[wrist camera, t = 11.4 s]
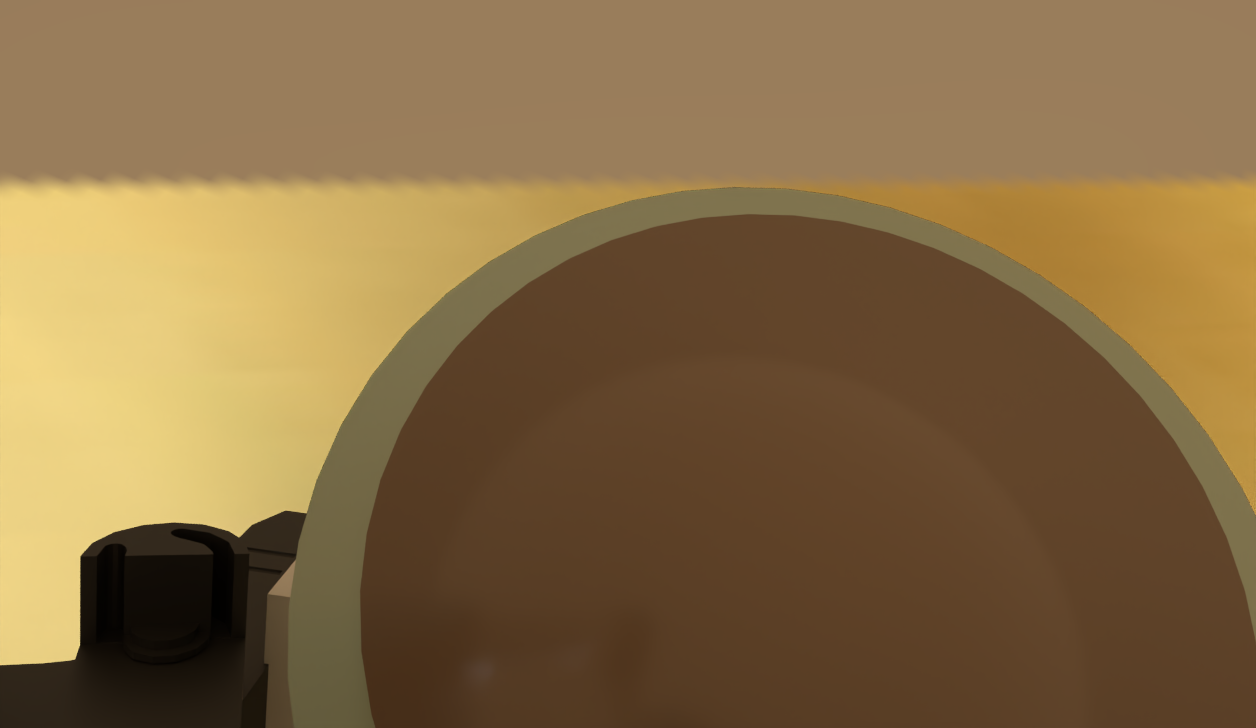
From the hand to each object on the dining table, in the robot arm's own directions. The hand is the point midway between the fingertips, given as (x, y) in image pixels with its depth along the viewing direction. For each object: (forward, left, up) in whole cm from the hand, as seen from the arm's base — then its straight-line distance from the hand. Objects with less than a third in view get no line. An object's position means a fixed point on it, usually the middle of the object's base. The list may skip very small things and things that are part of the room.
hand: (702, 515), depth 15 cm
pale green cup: (+3, -2, -3) cm, 5 cm away
